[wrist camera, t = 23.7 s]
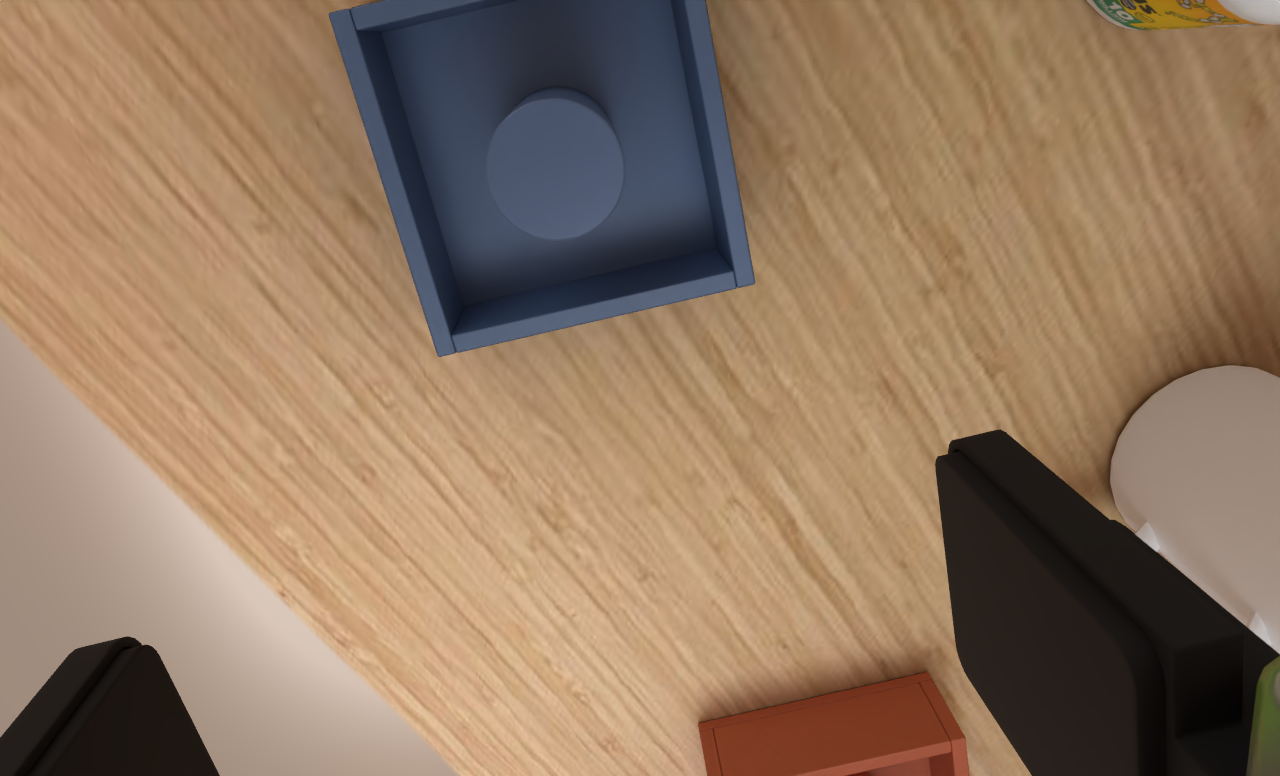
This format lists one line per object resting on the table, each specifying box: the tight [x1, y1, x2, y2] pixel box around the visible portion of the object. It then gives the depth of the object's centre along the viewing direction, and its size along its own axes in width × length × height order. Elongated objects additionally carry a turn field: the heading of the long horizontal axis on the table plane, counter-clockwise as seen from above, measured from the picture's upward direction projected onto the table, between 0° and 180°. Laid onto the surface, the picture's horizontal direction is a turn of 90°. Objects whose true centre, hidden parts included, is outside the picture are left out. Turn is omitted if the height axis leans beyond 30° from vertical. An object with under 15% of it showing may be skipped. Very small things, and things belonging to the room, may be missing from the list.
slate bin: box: [329, 0, 755, 357], centre depth 28 cm, size 10×10×4 cm
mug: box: [1110, 365, 1280, 654], centre depth 31 cm, size 12×8×10 cm, turn 120°
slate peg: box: [485, 86, 626, 241], centre depth 26 cm, size 4×4×7 cm
